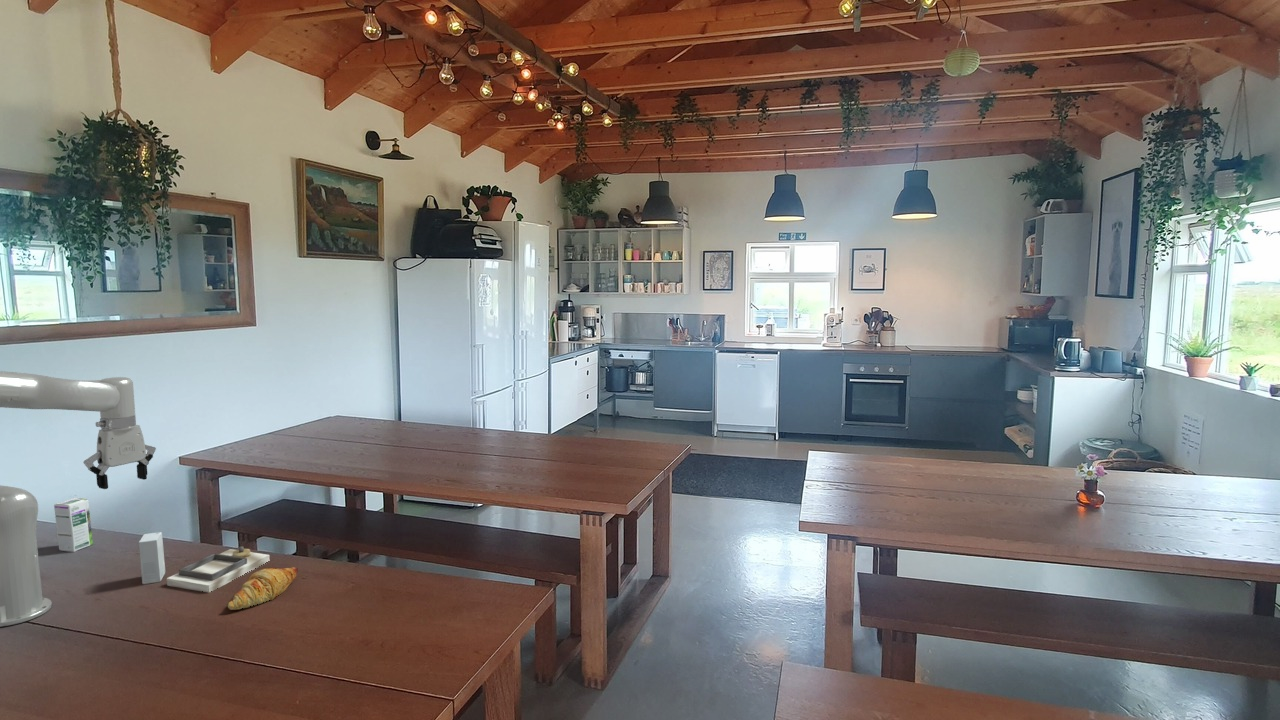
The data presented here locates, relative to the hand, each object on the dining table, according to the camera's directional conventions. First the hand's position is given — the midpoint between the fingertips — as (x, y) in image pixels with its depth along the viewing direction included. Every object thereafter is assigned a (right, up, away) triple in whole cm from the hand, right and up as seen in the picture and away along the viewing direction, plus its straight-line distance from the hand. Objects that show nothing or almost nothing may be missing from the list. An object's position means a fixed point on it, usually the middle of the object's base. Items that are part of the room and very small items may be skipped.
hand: (123, 483), depth 185 cm
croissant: (+45, -28, -10) cm, 54 cm away
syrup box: (-27, -23, +16) cm, 38 cm away
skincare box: (+11, -26, -3) cm, 28 cm away
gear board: (+26, -25, +1) cm, 36 cm away
